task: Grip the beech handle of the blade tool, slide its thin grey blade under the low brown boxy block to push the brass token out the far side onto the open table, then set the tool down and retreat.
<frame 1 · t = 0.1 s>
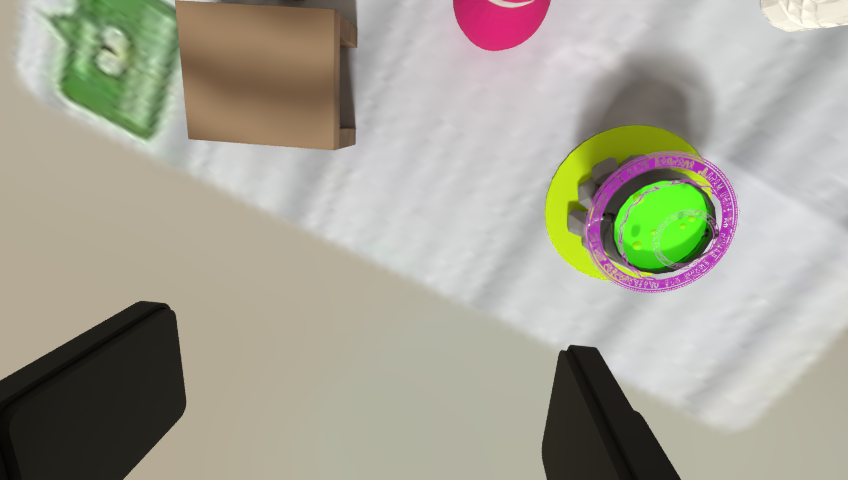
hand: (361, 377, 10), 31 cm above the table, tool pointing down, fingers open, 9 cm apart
pepper mill: (496, 11, 35), on the table
toy cauldron: (624, 206, 39), on the table
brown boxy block: (292, 84, 38), on the table
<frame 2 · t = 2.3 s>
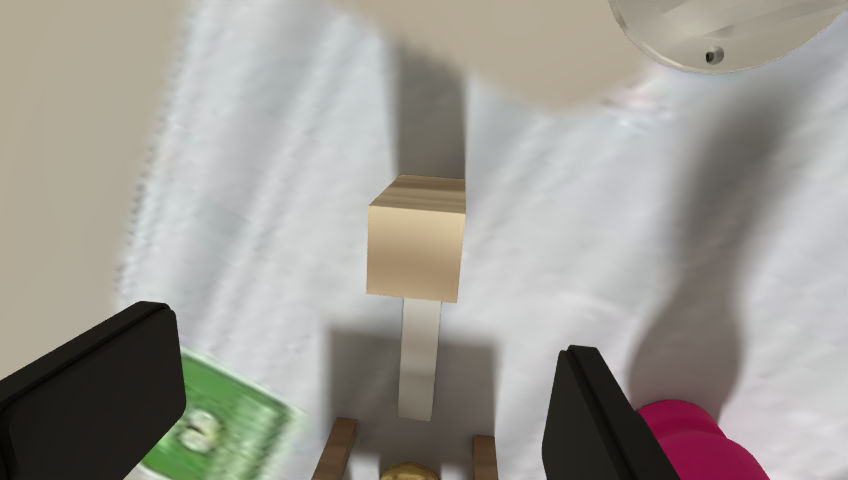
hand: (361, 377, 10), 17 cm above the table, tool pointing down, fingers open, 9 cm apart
pepper mill: (666, 433, 29), on the table
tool: (430, 208, 26), on the table
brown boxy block: (411, 478, 33), on the table
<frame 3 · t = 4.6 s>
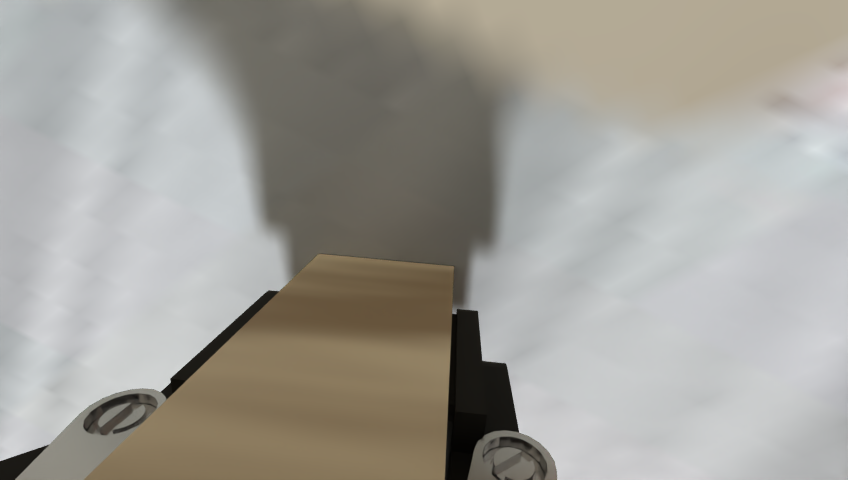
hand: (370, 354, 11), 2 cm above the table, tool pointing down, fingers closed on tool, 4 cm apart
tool: (383, 321, 13), on the table, touching gripper
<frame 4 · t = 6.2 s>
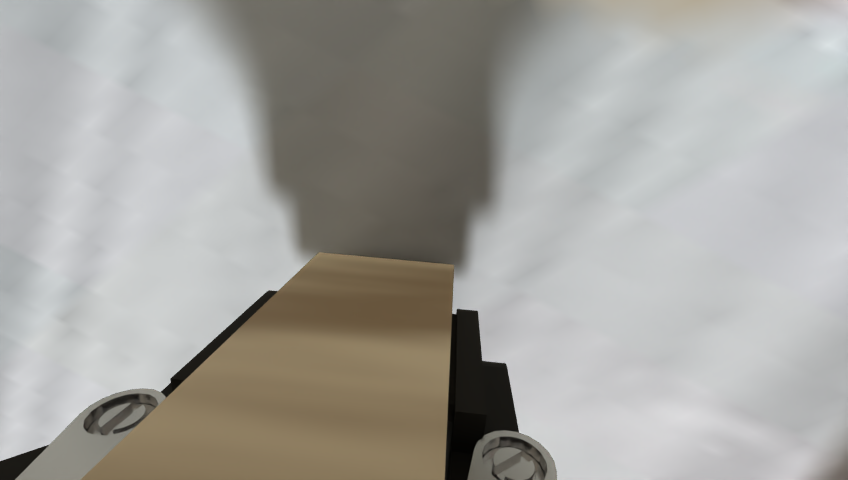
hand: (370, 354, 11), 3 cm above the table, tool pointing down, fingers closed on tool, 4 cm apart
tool: (383, 319, 13), point 1 cm above the table, touching gripper
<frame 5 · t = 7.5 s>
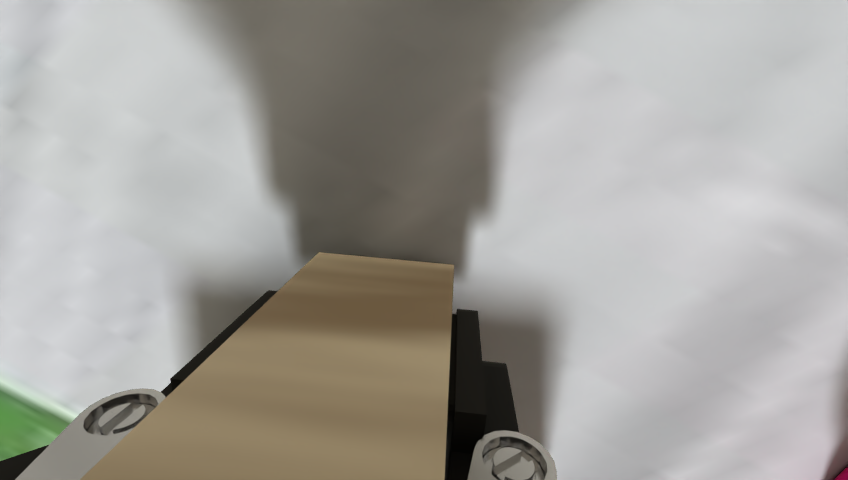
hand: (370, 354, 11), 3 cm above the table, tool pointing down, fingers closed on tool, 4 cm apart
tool: (383, 319, 13), point 1 cm above the table, touching gripper, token
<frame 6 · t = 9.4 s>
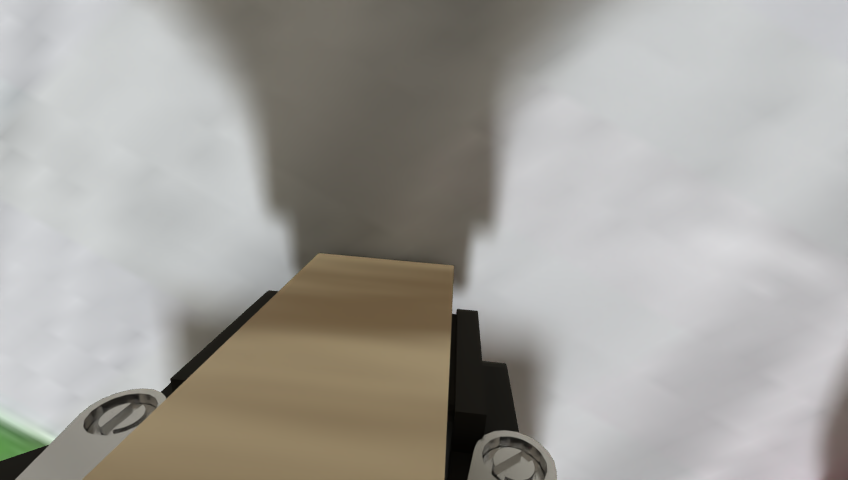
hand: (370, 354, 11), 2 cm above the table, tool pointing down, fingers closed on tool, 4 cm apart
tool: (383, 320, 13), on the table, touching gripper
when the fingers open (2 cm above the table, at t = 10.6 s): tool stays where it is, on the table.
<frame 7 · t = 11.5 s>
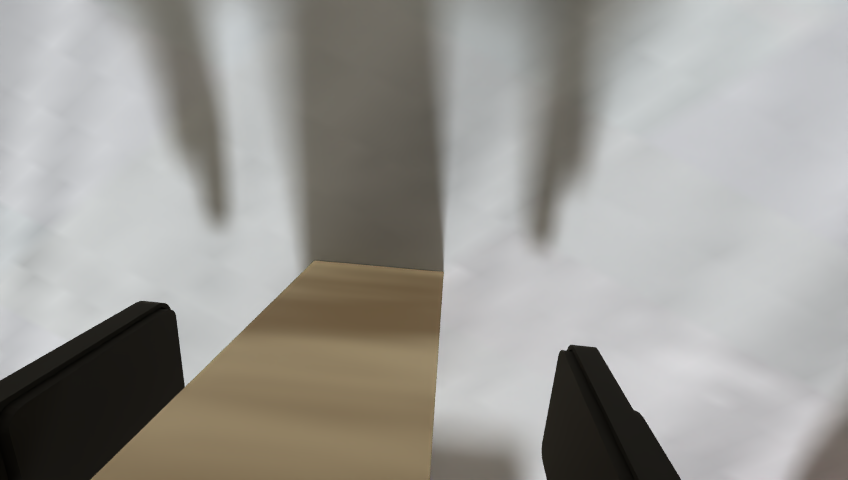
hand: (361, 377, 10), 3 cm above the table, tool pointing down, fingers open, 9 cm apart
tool: (376, 325, 13), on the table
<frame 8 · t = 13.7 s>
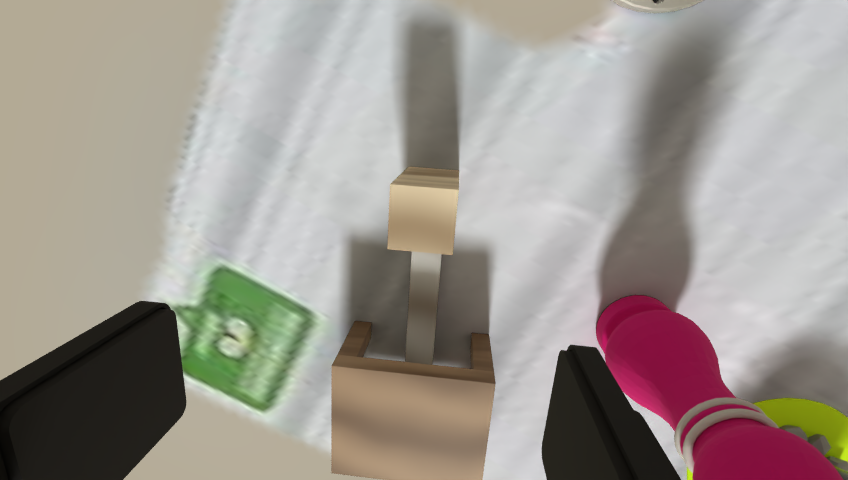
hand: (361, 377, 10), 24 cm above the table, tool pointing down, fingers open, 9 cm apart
pepper mill: (632, 326, 35), on the table
toy cauldron: (770, 464, 38), on the table
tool: (431, 193, 33), on the table
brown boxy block: (417, 375, 38), on the table
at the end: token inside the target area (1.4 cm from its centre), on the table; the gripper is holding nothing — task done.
